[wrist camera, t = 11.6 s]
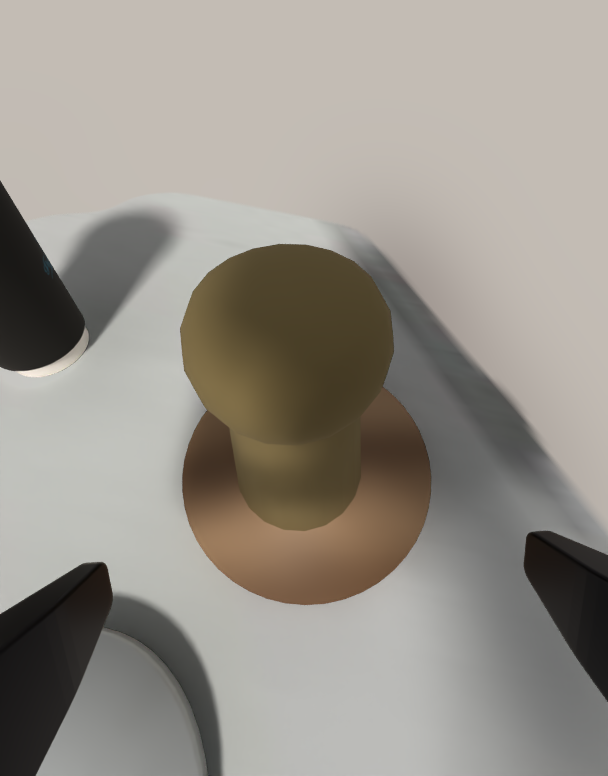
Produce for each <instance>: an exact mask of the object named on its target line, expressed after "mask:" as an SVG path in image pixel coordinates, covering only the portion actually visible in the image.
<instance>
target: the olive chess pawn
mask: <svg viewBox="0 0 608 776" xmlns="http://www.w3.org/2000/svg"><path fill="white" fill-rule="evenodd" d="M180 333H181V345H182V355H183V364H184V371H185V373H186V375H187V376H188V378H189V380H190V382H191V384H192V385H193V387H194V389H195V391H196V393H197V394H198V396H199V398H200V400H201V401H202V403H203V405H204V406H205V408H206V409H207V410H208V411H209V412H211V413H212V414H213V415H214V416H216V417H217V418H218V419H219V420H220V421H222V422H223V423H224V424H225V425H227V426H228V427H229V429H230V435H231V441H232V447H233V453H234V460H235V466H236V472H237V478H238V484H239V490H240V492H241V494H242V496H243V498H244V499H245V501H246V503H247V505H248V507H249V508H250V509H251V510H252V511H253V512H254V513H255V514H256V515H257V516H258V517H260V518H261V519H262V520H263V521H264V522H266V523H268V524H271V525H273V526H276V527H278V528H280V529H283V530H294V531H307V530H311V529H314V528H318V527H322V526H325V525H327V524H328V523H330V522H331V521H333V520H334V519H335V518H337V517H338V516H340V515H341V514H343V513H344V511H345V510H346V508H347V507H348V506H349V504H350V503H351V502H352V500H353V499H354V497H355V495H356V492H357V489H358V485H359V482H360V479H361V417H360V416H361V415H362V414H363V413H364V412H365V410H366V409H367V408H368V407H369V405H370V404H371V403H372V402H373V400H374V399H375V398H376V397H377V396H378V394H379V393H380V392H381V389H382V387H383V384H384V381H385V378H386V375H387V372H388V369H389V366H390V363H391V359H392V356H393V353H394V344H393V330H392V321H391V312H390V309H389V307H388V306H387V304H386V302H385V300H384V298H383V297H382V295H381V293H380V291H379V289H378V288H377V286H376V284H375V282H374V281H373V279H372V277H371V276H370V275H369V274H368V273H366V272H365V271H364V270H363V269H362V268H361V267H360V266H358V265H357V264H356V263H355V262H354V261H352V260H350V259H348V258H346V257H344V256H342V255H340V254H338V253H336V252H333V251H331V250H327V249H323V248H318V247H314V246H310V245H298V244H277V245H271V246H266V247H260V248H254V249H251V250H249V251H246V252H243V253H241V254H238V255H236V256H233V257H231V258H229V259H227V260H226V261H224V262H223V263H221V264H220V265H219V266H217V267H216V268H214V269H213V270H211V271H210V272H209V273H208V274H207V275H206V276H205V277H204V278H203V280H202V281H201V282H200V283H199V285H198V286H197V287H196V288H195V290H194V291H193V293H192V296H191V298H190V301H189V304H188V307H187V310H186V313H185V316H184V319H183V322H182V325H181V328H180Z"/></svg>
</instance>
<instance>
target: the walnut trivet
mask: <svg viewBox="0 0 608 776" xmlns="http://www.w3.org/2000/svg"><path fill="white" fill-rule="evenodd" d="M360 417H361V479H360V482H359V485H358V489H357V492H356V495H355V497H354V499H353V500H352V502H351V503H350V504H349V506H348V507H347V508H346V510H345V511H344V513H343V514H341V515H340V516H338V517H337V518H335V519H334V520H333V521H331V522H330V523H328V524H327V525H325V526H322V527H318V528H314V529H311V530H307V531H294V530H283V529H280V528H278V527H276V526H273V525H271V524H268V523H266V522H264V521H263V520H262V519H261V518H260V517H258V516H257V515H256V514H255V513H254V512H253V511H252V510H251V509H250V508H249V507H248V505H247V503H246V501H245V499H244V498H243V496H242V494H241V492H240V490H239V484H238V478H237V472H236V466H235V460H234V453H233V447H232V441H231V435H230V429H229V427H228V426H227V425H225V424H224V423H223V422H222V421H220V420H219V419H218V418H217V417H216V416H214V415H213V414H212V413H211V412H209V411H208V410H207V411H206V413H205V414H204V415H203V417H202V418H201V420H200V422H199V423H198V425H197V427H196V429H195V430H194V433H193V435H192V438H191V440H190V442H189V445H188V449H187V452H186V456H185V460H184V468H183V475H182V491H183V499H184V506H185V510H186V514H187V517H188V521H189V524H190V526H191V529H192V531H193V533H194V535H195V538H196V540H197V541H198V543H199V545H200V546H201V548H202V549H203V551H204V552H205V554H206V555H207V557H208V558H209V559H210V560H211V561H212V562H213V563H214V565H215V566H216V567H217V568H218V569H219V570H220V571H221V572H223V573H224V574H225V575H226V576H227V577H228V578H230V579H231V580H232V581H233V582H235V583H237V584H238V585H240V586H241V587H243V588H245V589H246V590H248V591H250V592H252V593H255V594H257V595H260V596H262V597H264V598H267V599H271V600H275V601H279V602H283V603H289V604H300V605H312V604H326V603H330V602H335V601H339V600H343V599H346V598H349V597H351V596H354V595H356V594H359V593H361V592H363V591H365V590H367V589H369V588H370V587H372V586H374V585H375V584H377V583H379V582H380V581H381V580H382V579H384V578H385V577H386V576H387V575H389V574H390V573H391V572H392V571H393V570H394V569H395V568H396V567H397V566H398V565H399V564H400V563H401V562H402V561H403V559H404V558H405V557H406V556H407V554H408V553H409V551H410V550H411V548H412V547H413V545H414V544H415V542H416V541H417V538H418V536H419V534H420V532H421V530H422V528H423V525H424V522H425V519H426V515H427V512H428V509H429V502H430V495H431V471H430V464H429V458H428V454H427V450H426V447H425V444H424V441H423V439H422V436H421V434H420V431H419V430H418V428H417V426H416V424H415V422H414V421H413V419H412V417H411V416H410V415H409V413H408V412H407V411H406V409H405V408H404V406H403V405H402V404H401V403H400V402H399V401H398V400H397V399H396V398H395V397H394V396H393V395H392V394H391V393H390V392H389V391H387V390H386V389H385V388H384V387H382V389H381V392H380V393H379V394H378V396H377V397H376V398H375V399H374V400H373V402H372V403H371V404H370V405H369V407H368V408H367V409H366V410H365V412H364V413H363V414H362V415H361V416H360Z"/></svg>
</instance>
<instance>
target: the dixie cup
mask: <svg viewBox="0 0 608 776" xmlns="http://www.w3.org/2000/svg"><path fill="white" fill-rule="evenodd" d="M88 342H89V334H88V331H87V329H86V327H85V321H84V318H83V316H82V314H81V312H80V311H79V309H78V307H77V306H76V304H75V303H74V301H73V299H72V298H71V296H70V294H69V293H68V291H67V289H66V288H65V286H64V284H63V283H62V281H61V280H60V278H59V276H58V275H57V273H56V271H55V270H54V268H53V266H52V265H51V263H50V261H49V260H48V258H47V257H46V255H45V253H44V252H43V250H42V248H41V247H40V245H39V243H38V242H37V240H36V239H35V237H34V235H33V234H32V232H31V230H30V229H29V227H28V225H27V224H26V222H25V221H24V219H23V217H22V216H21V214H20V212H19V211H18V209H17V208H16V206H15V204H14V203H13V201H12V199H11V198H10V196H9V194H8V193H7V191H6V189H5V188H4V186H3V184H2V183H1V181H0V367H2V368H4V369H7V370H11V371H16V372H17V373H19V374H21V375H24V376H27V377H43V376H48V375H52V374H55V373H57V372H59V371H62V370H64V369H65V368H67V367H69V366H70V365H72V364H73V363H74V362H75V361H76V360H78V359H79V358H80V356H81V355H82V354H83V353H84V351H85V349H86V348H87V345H88Z"/></svg>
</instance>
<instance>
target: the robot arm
mask: <svg viewBox="0 0 608 776" xmlns="http://www.w3.org/2000/svg"><path fill="white" fill-rule="evenodd" d="M524 570H525V573H526V576H527V578H528V580H529V581H530V583H531V585H532V586H533V588H534V590H535V591H536V593H537V595H538V596H539V598H540V599H541V601H542V603H543V604H544V606H545V608H546V609H547V611H548V613H549V614H550V616H551V618H552V619H553V621H554V623H555V624H556V626H557V628H558V629H559V631H560V632H561V634H562V636H563V637H564V639H565V641H566V642H567V644H568V645H569V647H570V649H571V650H572V652H573V653H574V655H575V656H576V658H577V659H578V661H579V662H580V664H581V665H582V667H583V668H584V669H585V671H586V672H587V674H588V675H589V676H590V678H591V679H592V681H593V682H594V683H595V685H596V686H597V688H598V689H599V690H600V692H601V693H602V695H603V696H604V697H605V699H606V700H607V702H608V555H606V554H604V553H601V552H599V551H597V550H594V549H592V548H589V547H587V546H585V545H582V544H580V543H577V542H575V541H573V540H570V539H568V538H565V537H563V536H561V535H558V534H556V533H553V532H551V531H536V532H530V533H529V534H528V535H527V537H526V546H525V556H524ZM112 601H113V593H112V588H111V583H110V578H109V573H108V569H107V566H106V564H105V563H103V562H91V563H84V564H81V565H79V566H78V567H76V568H74V569H73V570H71V571H70V572H68V573H66V574H65V575H63V576H61V577H60V578H58V579H57V580H55V581H53V582H52V583H50V584H48V585H47V586H45V587H44V588H42V589H40V590H39V591H37V592H35V593H34V594H32V595H31V596H29V597H27V598H26V599H24V600H22V601H21V602H19V603H18V604H16V605H14V606H13V607H11V608H9V609H8V610H6V611H5V612H3V613H1V614H0V776H36V774H37V772H38V770H39V768H40V766H41V764H42V762H43V760H44V758H45V756H46V754H47V752H48V750H49V748H50V746H51V744H52V742H53V740H54V738H55V736H56V734H57V732H58V730H59V728H60V726H61V724H62V722H63V720H64V718H65V716H66V714H67V712H68V710H69V708H70V706H71V704H72V702H73V699H74V697H75V695H76V693H77V691H78V688H79V686H80V684H81V681H82V679H83V677H84V674H85V672H86V669H87V667H88V664H89V662H90V659H91V657H92V654H93V652H94V649H95V647H96V644H97V642H98V639H99V637H100V634H101V632H102V629H103V627H104V624H105V622H106V619H107V617H108V614H109V612H110V609H111V606H112Z"/></svg>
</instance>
